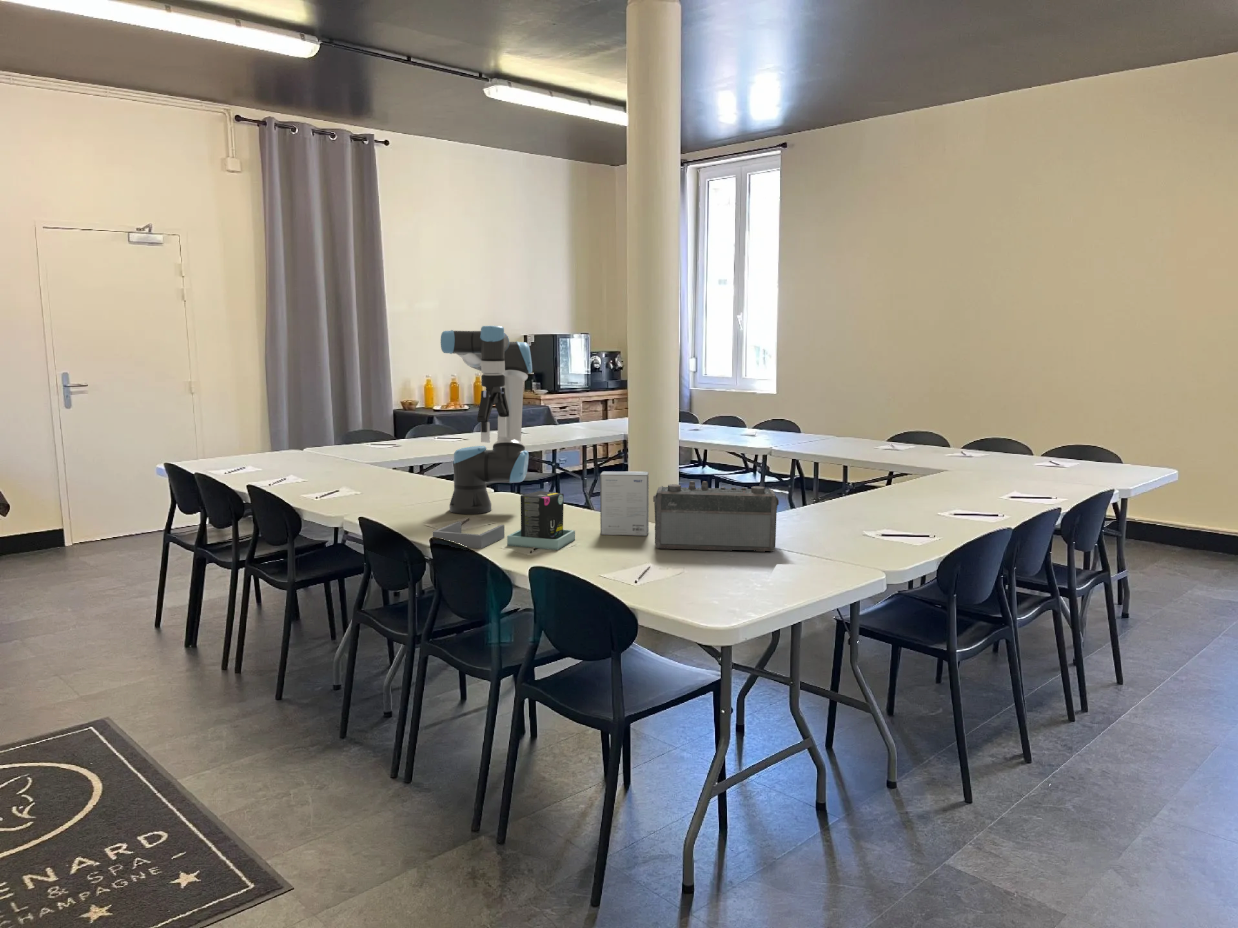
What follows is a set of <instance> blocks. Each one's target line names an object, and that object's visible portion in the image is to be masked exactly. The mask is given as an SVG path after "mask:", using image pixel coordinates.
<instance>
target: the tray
mask: <svg viewBox="0 0 1238 928" xmlns="http://www.w3.org/2000/svg"><path fill="white" fill-rule="evenodd" d="M506 540H507V541H506V545H507V546H508V547H520V548H529V547H535V548H534V549H542V550H551V551H554V550H555V551H559V550H560V549H562V548H564V547H566V546H567V545H569V544H570V543H572V542H573V541H575V540H576V530H573V529H564V528H563V536H562V537H560V538H558V539H544V538H533V537H521V528H520V529H519V530H516V531H515V532H513V533H510V534H508V535H507V536H506Z"/></svg>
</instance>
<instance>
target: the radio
mask: <svg viewBox="0 0 1238 928" xmlns="http://www.w3.org/2000/svg"><path fill="white" fill-rule="evenodd" d="M765 488H766V487H765V486H757V485H755V486H751V488H747V487H741V488H736V487H731V488H726V486H721V487H720V488H718V487H709V483H708V481H705V480H704V481H703V480H702V482H701V487H696V481H695V480H689V484H688V487H683V486H682V485H681V484H677V483H676V484H675V483H674V484H668V485H667V486H663V485H661V486H659V487H658V488H657V490H656V493H655V494H654V495H653V498H652V499H653V500H652V501H653V504H654V523H655V524H654V544H655V547H656V548H658V549H660V550H661V549H667V550H668V549H673V550H675V549H676V550H702V551H732V550H754V551H753V552H765V551H771V552H774V551H775V548H776V541H777V540H776V539H777V538H776V537H777V534H776V533H777V514H778V513H777V511H778V506H779V504H780V501H779V498H778V497H777V494H776V493H775V491H774V489H773V488H772V489H771V488H768V489H765ZM755 550H756V551H755ZM773 550H774V551H773Z"/></svg>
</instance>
